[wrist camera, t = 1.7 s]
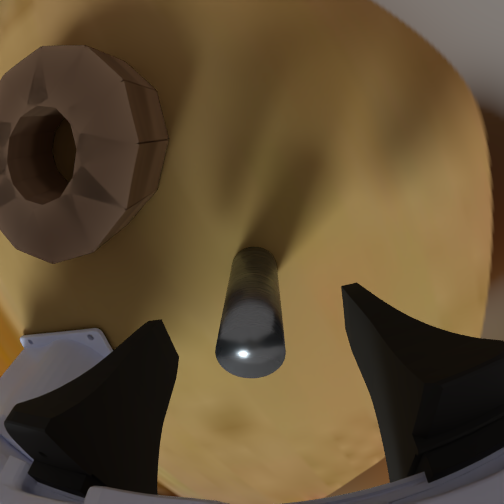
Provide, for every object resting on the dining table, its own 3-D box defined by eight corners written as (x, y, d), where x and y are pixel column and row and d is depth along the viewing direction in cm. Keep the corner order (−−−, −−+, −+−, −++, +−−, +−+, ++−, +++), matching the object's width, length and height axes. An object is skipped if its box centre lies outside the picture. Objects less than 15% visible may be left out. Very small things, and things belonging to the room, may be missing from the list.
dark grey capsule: (238, 291, 17) (226, 382, 11) (226, 252, 16) (206, 332, 10) (280, 282, 17) (290, 372, 10) (271, 242, 16) (278, 320, 10)
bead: (49, 249, 17) (12, 276, 13) (9, 105, 13) (-34, 108, 9) (188, 207, 15) (166, 233, 12) (142, 30, 12) (110, 6, 8)
